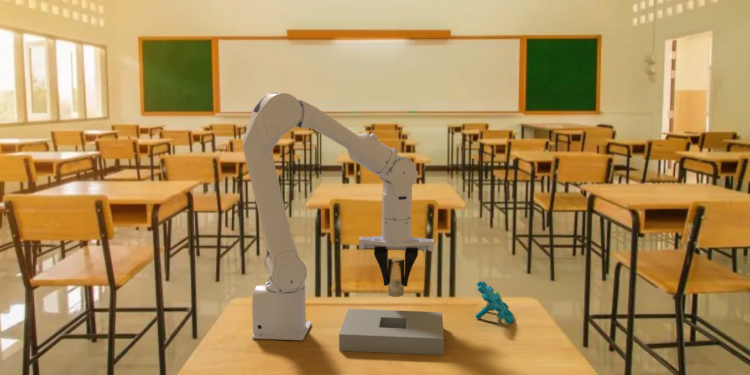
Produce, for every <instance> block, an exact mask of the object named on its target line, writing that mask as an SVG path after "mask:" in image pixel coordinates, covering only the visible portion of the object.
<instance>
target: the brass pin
mask: <svg viewBox="0 0 750 375" xmlns="http://www.w3.org/2000/svg"><path fill="white" fill-rule="evenodd" d="M404 274H405V258H402V257H390V258H389V257H388V286H387V295H388V296H389V297H393V298H397V297H398V298H400V297H403V296H404V295H405V292H404V291H405V286H404Z"/></svg>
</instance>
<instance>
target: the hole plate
mask: <svg viewBox="0 0 750 375" xmlns="http://www.w3.org/2000/svg"><path fill="white" fill-rule="evenodd" d="M443 322H444V320H443V311H418V310H417V311H416V310H396V309H395V310H392V309H391V310H389V309H388V310H387V309H368V308H367V309H366V308H359V309H358V308H348V309H347V312H346V313H345V317H344V320H343V322H342V324H341V329H340V331H339V332H338V333H339V334H338V350H339V352H340V351H342V352H361V353H362V352H363V353H365V352H367V353H387V354H405V355H406V354H409V355H410V354H411V355H431V356H432V355H433V356H434V355H435V356H444V346H445V345H444V344H445V341H444V340H445V338H444V323H443Z"/></svg>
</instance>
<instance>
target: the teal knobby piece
mask: <svg viewBox="0 0 750 375" xmlns="http://www.w3.org/2000/svg"><path fill="white" fill-rule="evenodd" d="M476 286H477V290H478V292H479V293H480V294H481V298H482V300H484V301H485V302H486V303H485V305H484V306H483V307H482V308H481V310H480V311H479V312H477V313H476V314H475V315H474V316H475V318H476V319H477V320H480V319H481V318H483V317H484V316H485V315H486V314H487V313H488V312H492V311H496V312H497V317H499V319H501V320H504V322H505V323H506V324H508V325H509V324H511V323H514V321H515V318H514V313H513V312H512V311H511V310H509V308H510V307H509V305H508V303H506V302H504V301H503V299H502V296H501V294H500V293H499V291H495V290H494V288H493V287H492V286H491V285H488V284H487V282H485V281H483V280H482V281H480V280H479V281H478V282H477V283H476ZM494 291H495V292H494Z"/></svg>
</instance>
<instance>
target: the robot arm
mask: <svg viewBox="0 0 750 375" xmlns="http://www.w3.org/2000/svg"><path fill="white" fill-rule="evenodd" d="M295 127H297V128H300V129H311V130H314V131H316V132H318V133H319V134H321V135H323V136H324V137H325V138H328V139H329V140H332V141H333V142H335V143H337V144H338V145H341V147H343V148H345V149H346V150H347V153H348V157H349V159H350V160H351V161H353V162H354V163H356V164H358V165H359V166H361V167H363V168H364V169H366V170H367V171H369V172H371V173H372V174H373V175H376V176H378V177H379V178H380V180H381V181H382V195H381V196H382V199H381V200H382V203H381V206H382V207H381V208H382V210H381V235H380V236H360V237H359V239H358V249H359V250H364V249H374V251H373V255H374V258H375V259H376V262H377V264H378V266H379V269H380V272H381V275H382V279H383V280H382V281H383V286H386V287H388V259H389V250H404V287H408V282H409V278H410V274H411V271H412V269H413V266H414V264H415V263H416V262H415V261H416V260H417V258H418V256H419V250H420V251H429V252H434V251H435V248H434V247H435V239H434V238H424V237H417V236H415V237H414V236H412V218H413V217H412V214H413V211H412V210H413V185H414V183H415V182H416V180H417V179H418V174H419V170H417V168H416V165H415V163H414V161H413V160H412V159H410V158H408V157H407V156H406V157H405V156H403V155H399V154H398V152H399V150H398V149H397V148H396V147H390V146H388V145H387V144H385V143H384V142H381V141H380V140H379V136H378V135H377V134H376V133H372V132H371V133H368V132H362V133H359V134H356V133H355V132H354V131H352V130H350V129H349V128H347V127H346V126H344V125H343V124H342V123H340V122H339V121H337V120H336V119H334V118H332V117H331V116H330V115H329V114H327V113H325V112H324V111H322V110H321V109H320V108H318V107H317V106H315V105H312V104H310V103H309V102H308V101H307V102H306V101H304V100H302V99H298V98H296V96H294V95H292V94H290V93H286V92H281V93H280V92H270V93H267V94H265V95H264V96H263V97H262V98H261V99H260V100H259V101H258V102H257V103H256V104H255V106H254V107H253V108H252V111H251V116H250V120H249V122H248V125H247V127H246V131H245V132H244V136H243V138H242V142H241V144H242V146H241V147H242V150H243V155H244V158H245V163H246V166H247V172H248V176H249V179H250V183H251V186H252V187H251V188H252V191H253V196H254V198H255V199H254V201H255V204H256V209H257V211H258V216H259V219H260V224H261V228H262V232H263V236H264V246H265V256H264V260H263V261H264V267H265V270H266V271H267V272H268V273H269V276H268V278H267V279H266V282H265V284H258V285H256V286H255V288H254V290H253V295H252V300H251V301H252V304H251V308H252V309H251V310H252V335H251V337H252V339H255V340H256V339H258V340H260V339H261V340H281V341H282V340H283V341H285V340H286V341H287V340H288V341H303V340H304V339H305V337H306V335H307V333H308V331H309V329H310V327H311V325H312V322H311V321H310V320H306V319H307V318H306V314H307V313H306V280H307V277H308V270H307V266H306V264H305V263H304V261H303V260H302V259H301V258H300V257H299V255H298V250H297V247H296V244H295V242H294V240H293V235H292V234H291V229H290V228H291V227H290V225H289V224H290V223H289V220H288V216H287V212H286V206H285V203H284V199H283V194H282V189H281V184H280V181H279V176H278V172H277V169H276V165H275V164H276V163H275V161H274V160H275V159H274V156H273V149H275V147H276V145H277V144H278V143H279V141H280V140H281V139H282V137H283V136H285V135H286V134H287V133H289V132H290V131H292V130H293V129H294V128H295Z"/></svg>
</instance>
